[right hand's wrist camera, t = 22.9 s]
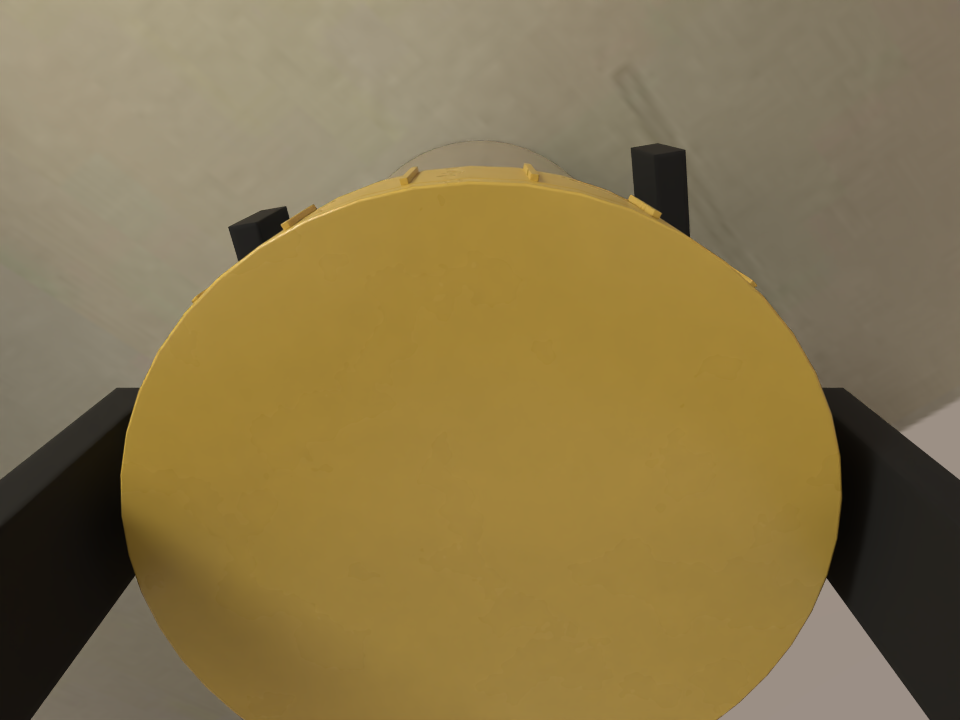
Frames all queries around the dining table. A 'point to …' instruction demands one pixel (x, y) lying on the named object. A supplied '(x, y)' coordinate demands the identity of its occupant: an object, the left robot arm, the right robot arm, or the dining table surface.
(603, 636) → the lid
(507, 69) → the dining table surface
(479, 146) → the jar
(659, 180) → the left robot arm
